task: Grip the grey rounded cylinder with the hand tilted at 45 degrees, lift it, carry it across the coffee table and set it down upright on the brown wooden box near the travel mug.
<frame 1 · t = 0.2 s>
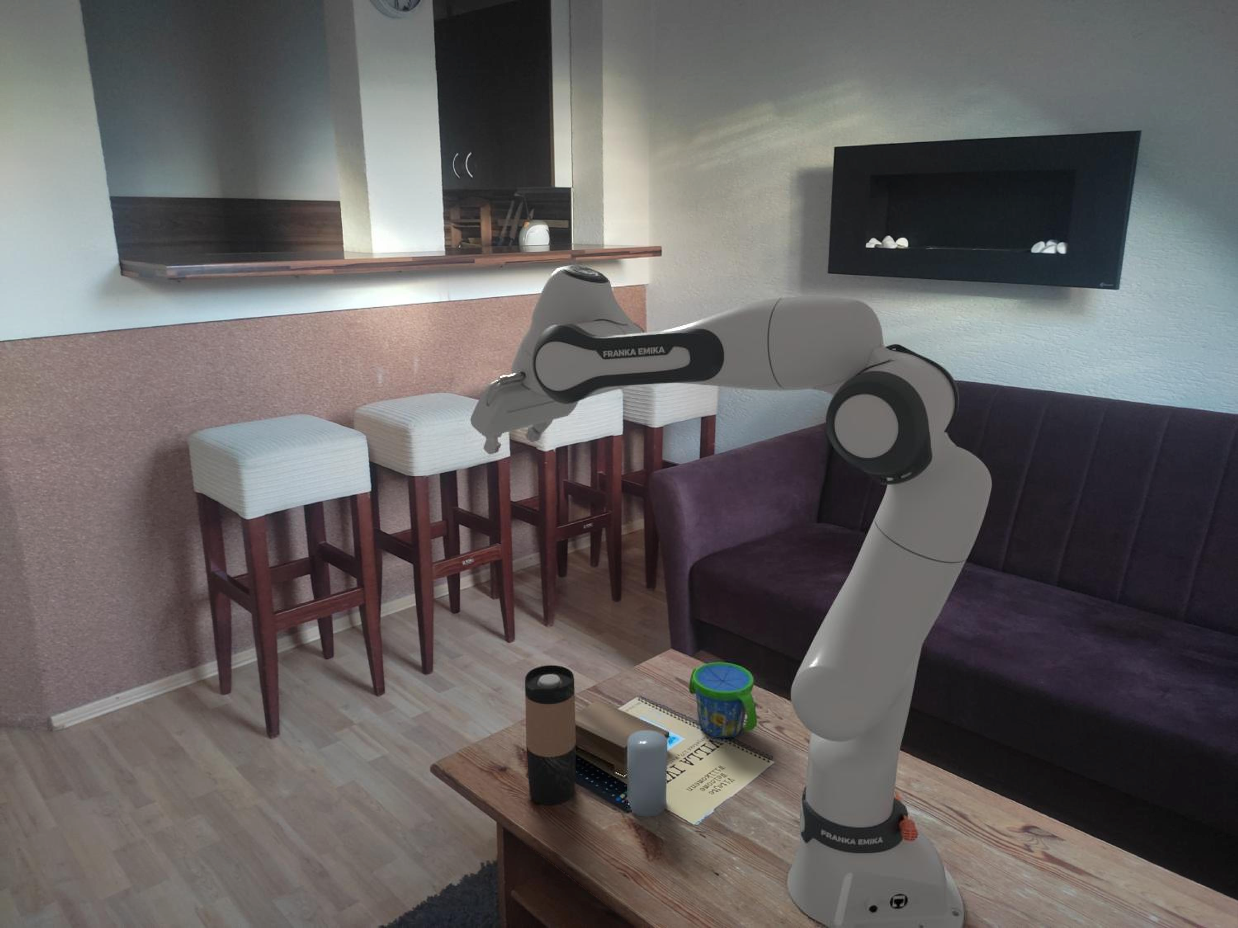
hand: (511, 445, 135), 54 cm above the table, tool tilted 30°, fingers open, 8 cm apart
grey rounded cylinder: (646, 803, 138), on the table
snack cup: (720, 728, 158), on the table
travel mug: (552, 791, 141), on the table
brown wooden box: (610, 745, 152), on the table
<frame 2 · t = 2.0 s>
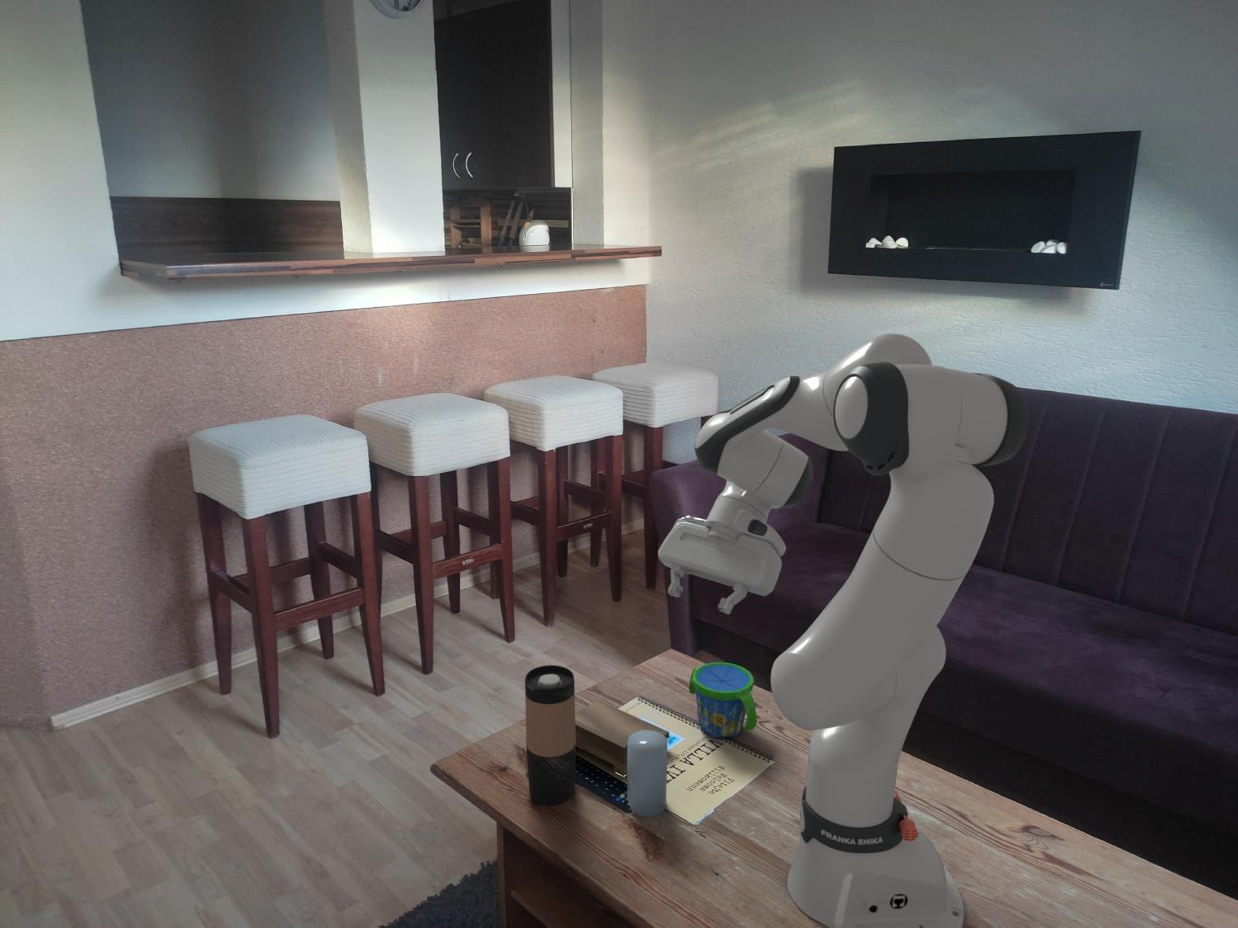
hand: (697, 603, 139), 29 cm above the table, tool tilted 45°, fingers open, 8 cm apart
nothing on the table moved.
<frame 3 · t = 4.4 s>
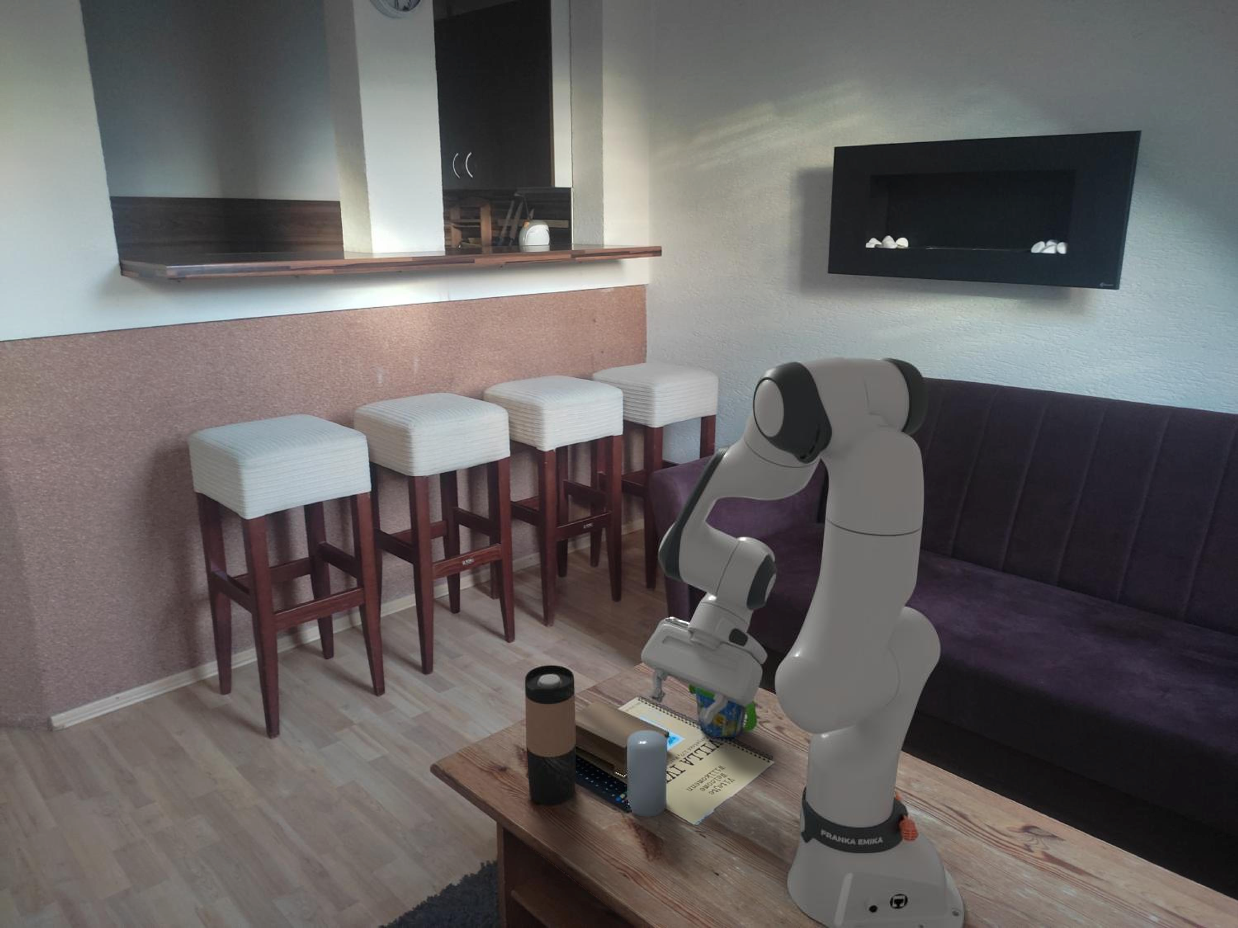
hand: (678, 710, 140), 12 cm above the table, tool tilted 45°, fingers open, 8 cm apart
nothing on the table moved.
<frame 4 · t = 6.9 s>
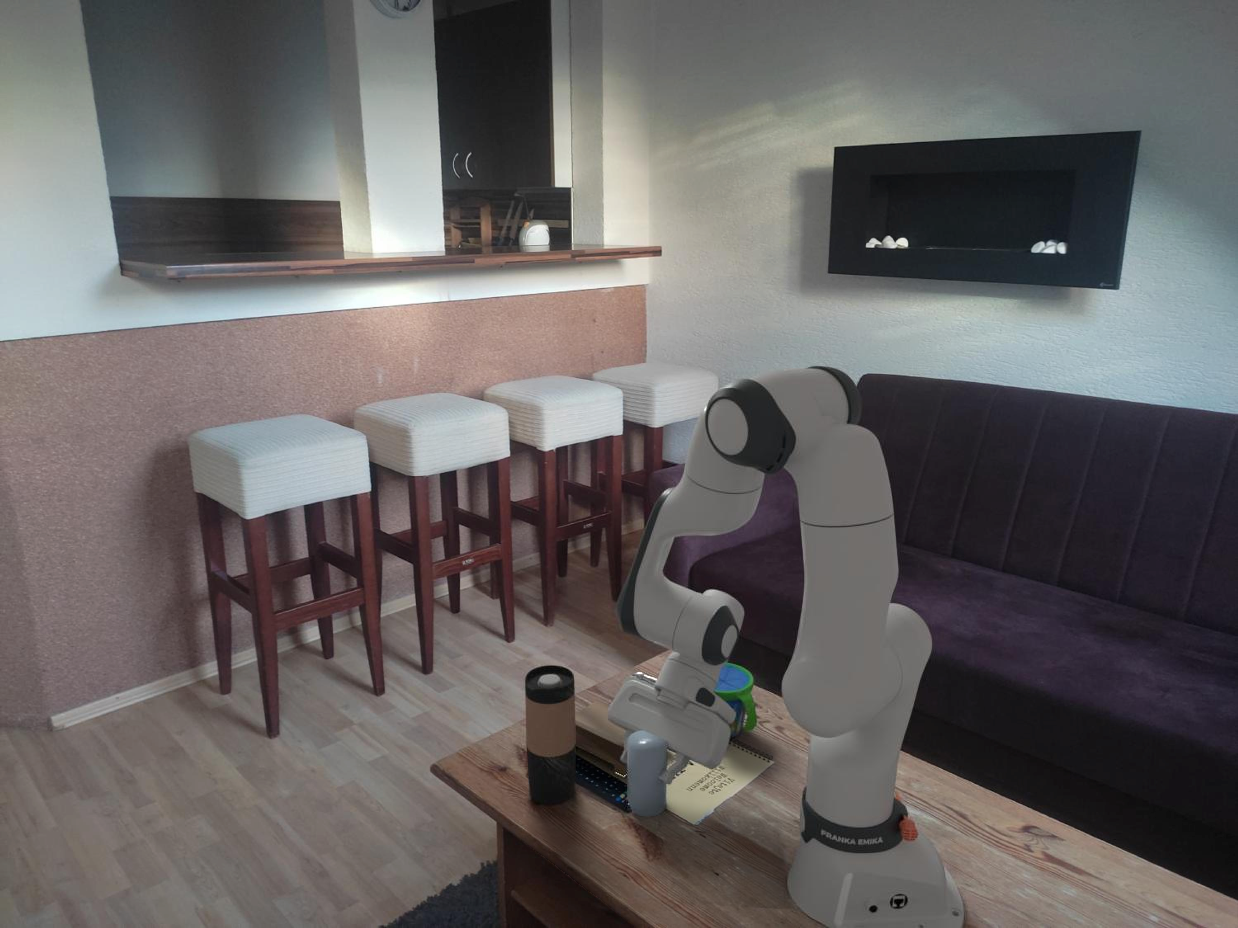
hand: (644, 772, 135), 6 cm above the table, tool tilted 45°, fingers closed on grey rounded cylinder, 6 cm apart
grey rounded cylinder: (646, 803, 138), on the table, touching gripper
everything else where it was.
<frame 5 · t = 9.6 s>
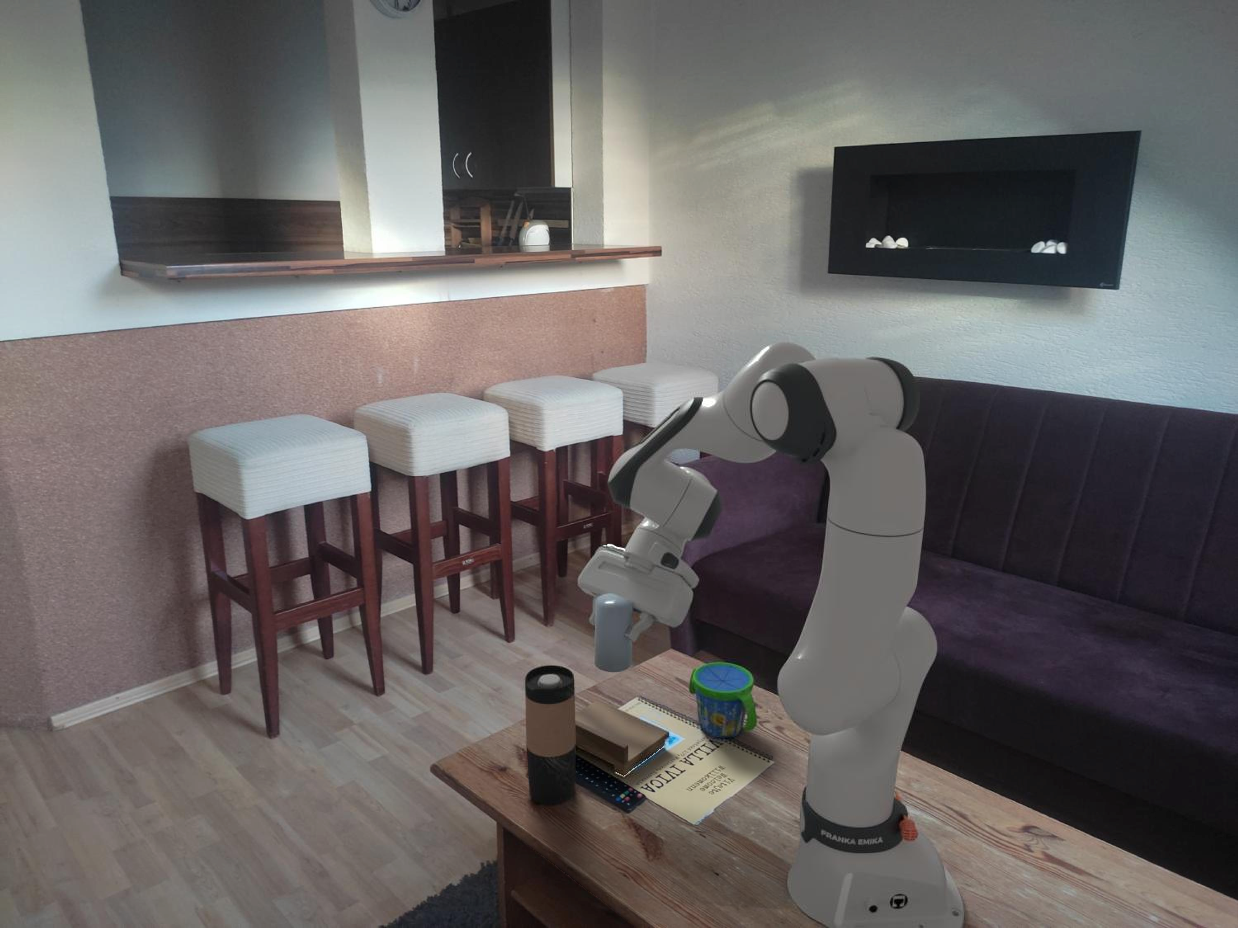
hand: (611, 631, 144), 23 cm above the table, tool tilted 45°, fingers closed on grey rounded cylinder, 6 cm apart
grey rounded cylinder: (612, 662, 146), point 17 cm above the table, touching gripper
everything else where it was.
when the fingers open (10 cm above the table, at t = 12.5 s): grey rounded cylinder drops 1 cm, resting on brown wooden box.
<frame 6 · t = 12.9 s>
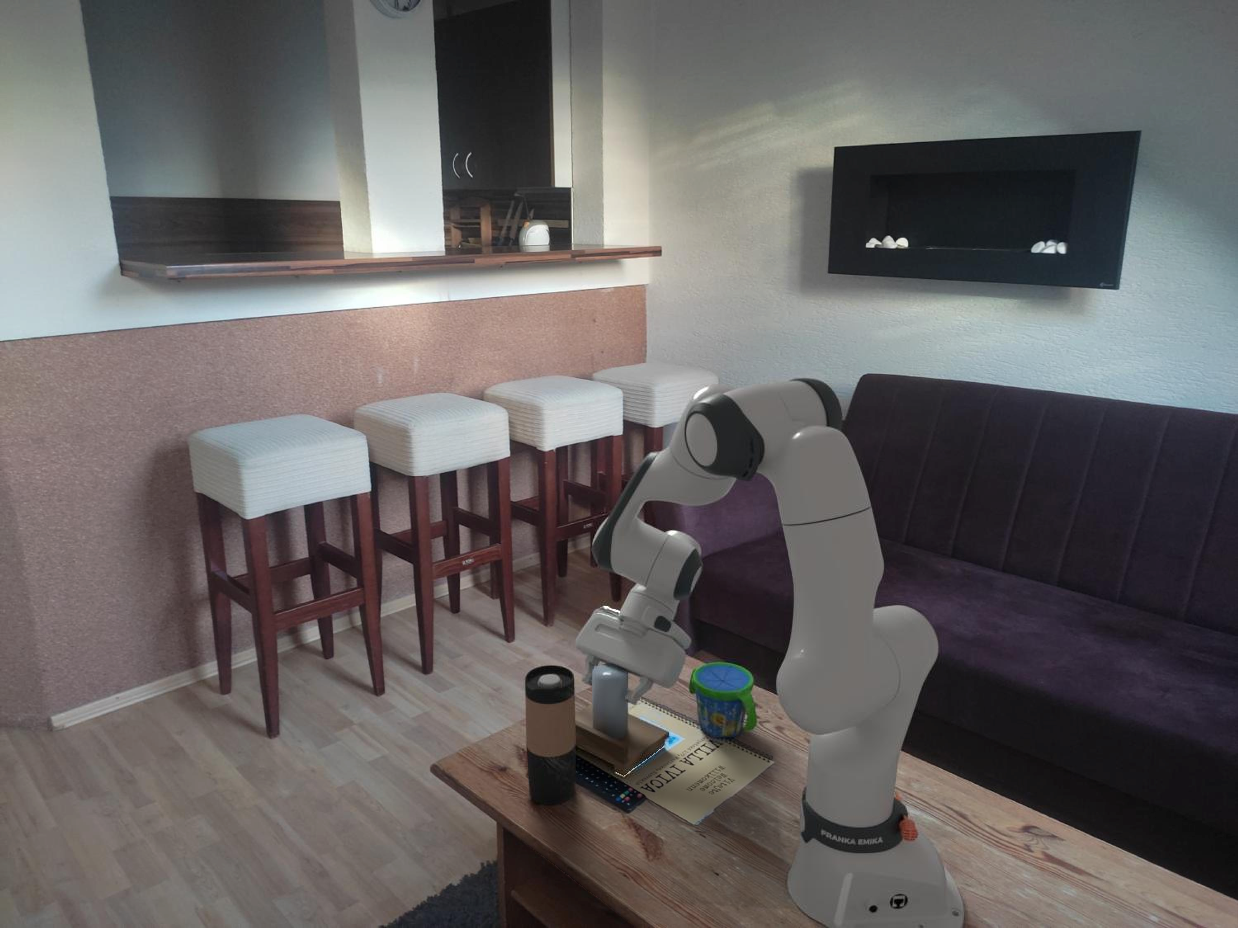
hand: (607, 692, 149), 10 cm above the table, tool tilted 45°, fingers open, 8 cm apart
grey rounded cylinder: (610, 730, 152), point 3 cm above the table, touching brown wooden box
everything else where it was.
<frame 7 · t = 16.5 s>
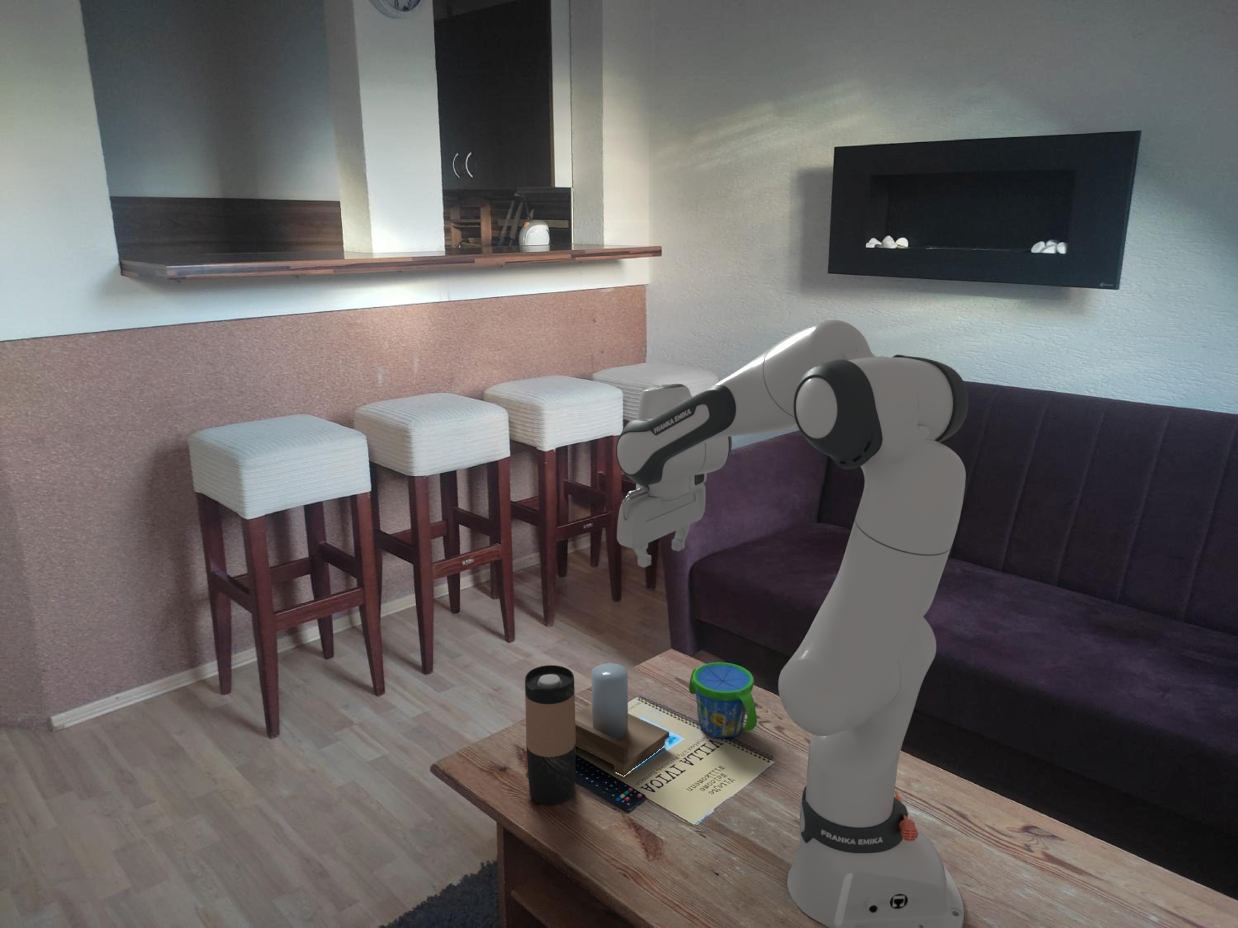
hand: (661, 557, 152), 31 cm above the table, tool pointing down, fingers open, 8 cm apart
nothing on the table moved.
at the end: grey rounded cylinder 0.1 cm from the brown wooden box (horizontally); grey rounded cylinder point 3.1 cm above the table; grey rounded cylinder tilted 1° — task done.
